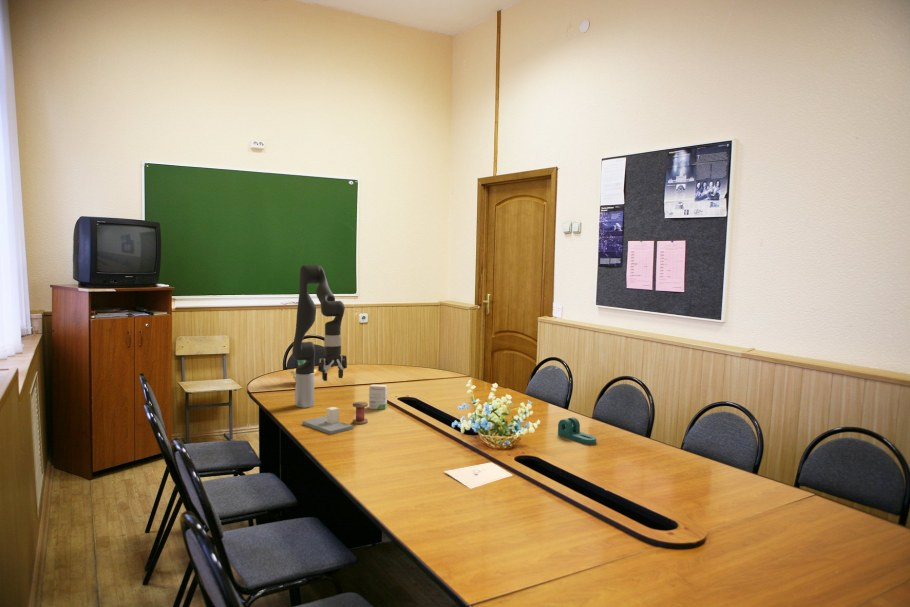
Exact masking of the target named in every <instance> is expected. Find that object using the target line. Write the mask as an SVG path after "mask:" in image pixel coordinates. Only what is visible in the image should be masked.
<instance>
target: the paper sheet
mask: <svg viewBox="0 0 910 607" xmlns="http://www.w3.org/2000/svg"><path fill="white" fill-rule="evenodd" d="M443 472H444V473H445V474H447V475H449V477H452V478H453V479H455V480H456V481H458V482H459V483H461V484H463V485H464V486H466V487H467V488H469V489H470V490H471V489H474V488H477V487H481V486H483V485H486V484H487V485H488V484H489V483H494V482H496V481H499V480H502V479H505V478H508V477H512V476H513V474H512V473H510V472H508V470H505V469H504V468H502V467H500V466H499V465H497V464H495V463H493V462H487V463H481V464H475V465H471V466H465V467H460V468H455V469H450V470H444V471H443Z"/></svg>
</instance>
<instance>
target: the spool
mask: <svg viewBox="0 0 910 607" xmlns="http://www.w3.org/2000/svg"><path fill="white" fill-rule="evenodd" d="M352 407H353V408H355V418H354V419H352V424H353V425H365V424H368V422H369V421H368V418H365V408H367V407H369V403H368V402H367V401H356V402H355V401H354V402H353V403H352Z"/></svg>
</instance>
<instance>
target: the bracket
mask: <svg viewBox="0 0 910 607" xmlns="http://www.w3.org/2000/svg"><path fill="white" fill-rule="evenodd" d="M580 428H581V424H580V421H579V419H578V418H576V417H575V416H574V417H573V416H572V417H568V418H564V419H560V420H559V421H558V425H557V435H558V436H560V437H563V438H566V439H569V440H572V441H575V442H577V443H580V444H583V445H588V446H589V445H596V444H597V436H595V435H592V434H591V435H590V434H588V433H585V432H582V431H581V429H580Z"/></svg>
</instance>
